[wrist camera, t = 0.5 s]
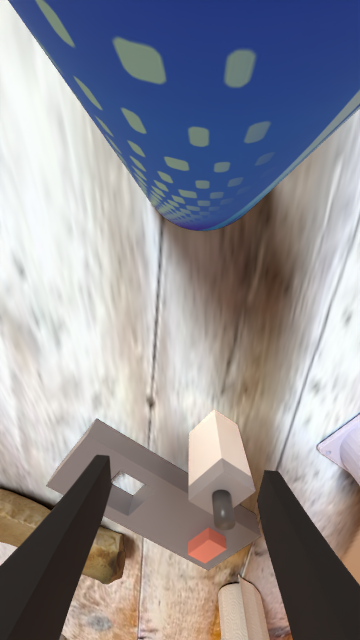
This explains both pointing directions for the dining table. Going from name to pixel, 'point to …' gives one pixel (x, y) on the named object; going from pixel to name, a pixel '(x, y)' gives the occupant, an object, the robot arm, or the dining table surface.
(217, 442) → the plug
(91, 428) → the power strip
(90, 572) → the stone tool
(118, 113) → the beer can
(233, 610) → the paper towel roll
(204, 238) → the dining table surface
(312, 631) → the robot arm
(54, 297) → the dining table surface
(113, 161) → the dining table surface
